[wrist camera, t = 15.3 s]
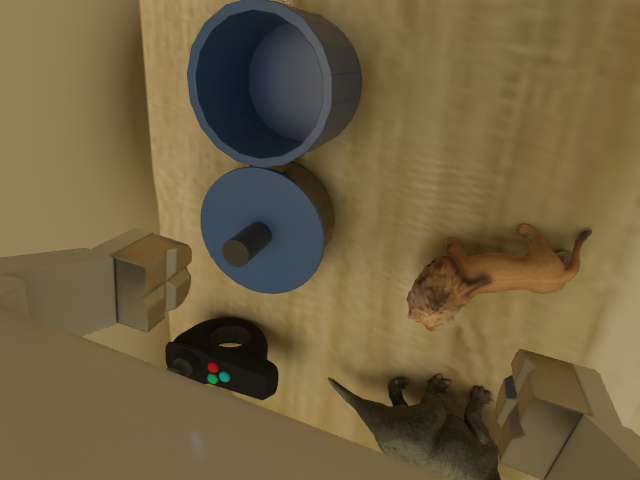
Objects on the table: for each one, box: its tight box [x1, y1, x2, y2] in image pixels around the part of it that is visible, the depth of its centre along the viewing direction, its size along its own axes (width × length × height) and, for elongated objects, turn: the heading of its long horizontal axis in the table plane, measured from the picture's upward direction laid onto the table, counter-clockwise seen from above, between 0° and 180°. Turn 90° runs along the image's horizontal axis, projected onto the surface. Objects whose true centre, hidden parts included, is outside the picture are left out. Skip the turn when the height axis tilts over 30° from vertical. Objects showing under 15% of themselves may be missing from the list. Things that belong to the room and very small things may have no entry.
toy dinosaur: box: [328, 374, 501, 480], centre depth 40 cm, size 22×8×11 cm, turn 61°
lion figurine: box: [407, 224, 592, 331], centre depth 34 cm, size 15×5×9 cm, turn 115°
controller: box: [165, 318, 278, 400], centre depth 45 cm, size 4×12×10 cm, turn 83°
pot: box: [187, 0, 362, 168], centre depth 34 cm, size 11×11×9 cm
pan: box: [266, 163, 334, 248], centre depth 41 cm, size 11×11×5 cm
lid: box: [201, 166, 325, 294], centre depth 37 cm, size 12×12×6 cm
